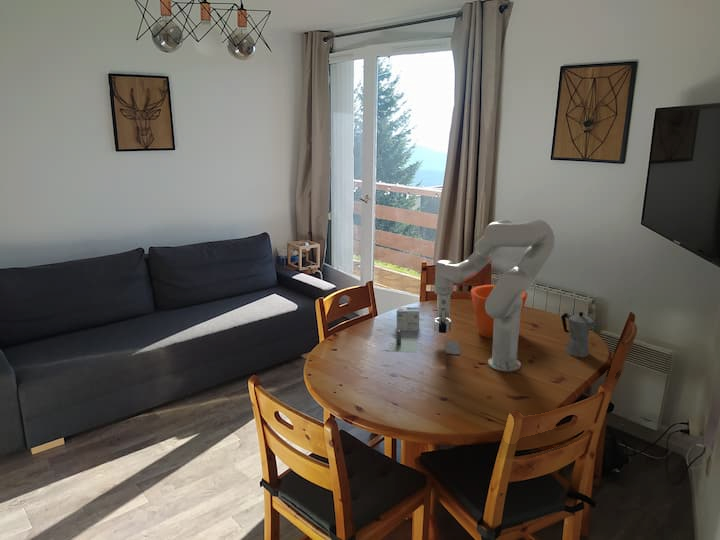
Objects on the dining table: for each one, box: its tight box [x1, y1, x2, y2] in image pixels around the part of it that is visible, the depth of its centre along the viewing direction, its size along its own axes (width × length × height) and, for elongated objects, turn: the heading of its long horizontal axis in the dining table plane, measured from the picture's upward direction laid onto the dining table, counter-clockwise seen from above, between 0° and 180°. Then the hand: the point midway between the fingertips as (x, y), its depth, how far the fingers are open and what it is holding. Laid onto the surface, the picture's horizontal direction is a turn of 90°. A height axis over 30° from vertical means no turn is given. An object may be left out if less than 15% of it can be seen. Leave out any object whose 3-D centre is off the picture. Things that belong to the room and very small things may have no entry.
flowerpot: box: [470, 284, 528, 340], centre depth 236 cm, size 25×25×20 cm
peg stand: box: [388, 330, 418, 353], centre depth 225 cm, size 16×16×7 cm
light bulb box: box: [396, 306, 420, 332], centre depth 243 cm, size 11×7×11 cm, turn 84°
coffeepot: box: [561, 311, 596, 358], centre depth 214 cm, size 15×9×18 cm, turn 33°
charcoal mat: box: [444, 340, 461, 356], centre depth 223 cm, size 14×14×1 cm
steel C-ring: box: [433, 317, 452, 334], centre depth 221 cm, size 7×7×4 cm
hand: (442, 328), depth 221 cm, fingers closed on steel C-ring, 7 cm apart
